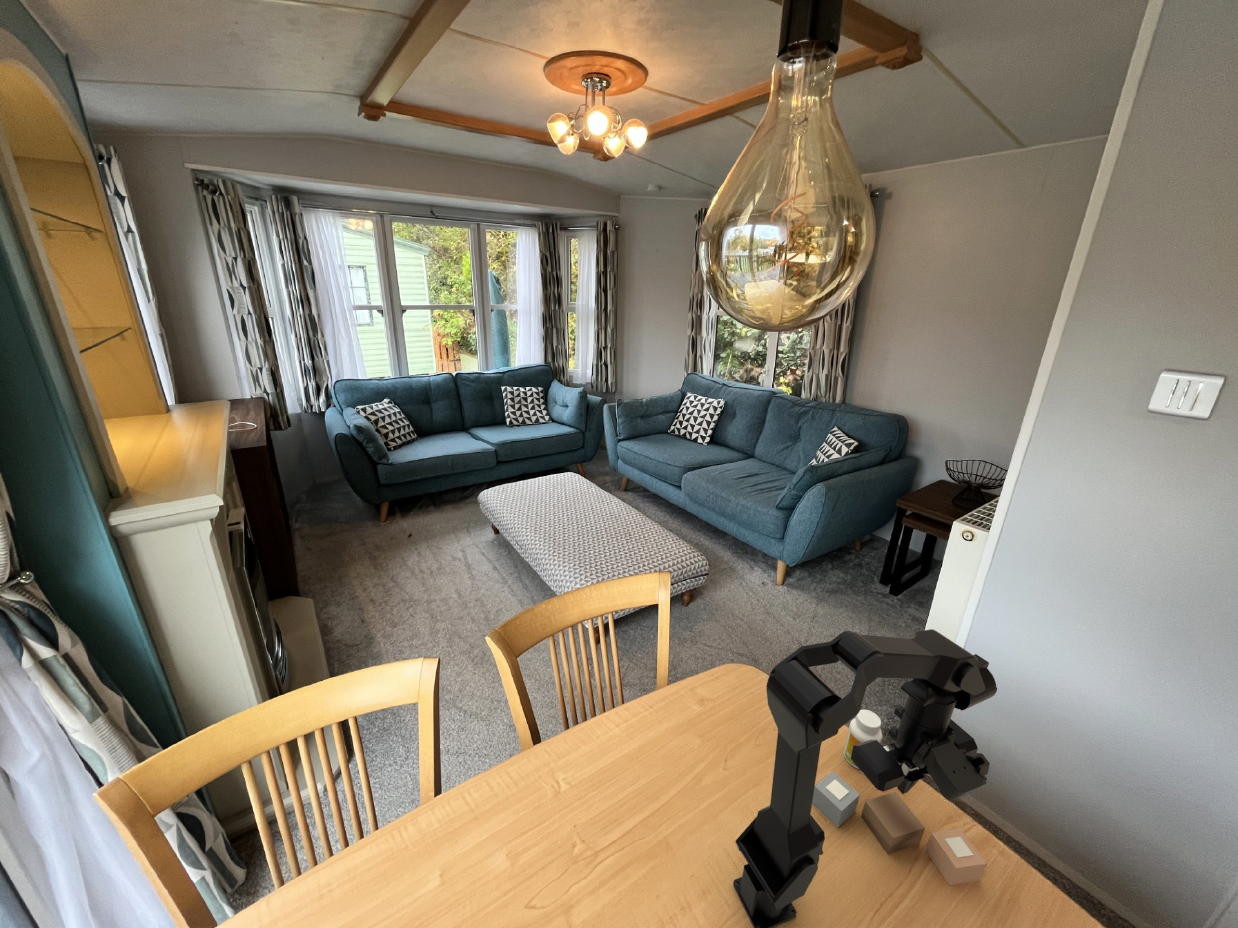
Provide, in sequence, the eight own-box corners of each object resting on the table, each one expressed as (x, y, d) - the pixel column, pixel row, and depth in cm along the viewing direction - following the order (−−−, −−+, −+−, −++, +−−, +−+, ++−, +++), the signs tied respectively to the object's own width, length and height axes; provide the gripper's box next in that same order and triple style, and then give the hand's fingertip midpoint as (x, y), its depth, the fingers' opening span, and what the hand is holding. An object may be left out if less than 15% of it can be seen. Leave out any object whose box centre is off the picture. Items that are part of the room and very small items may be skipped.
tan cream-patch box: (949, 885, 74) (956, 866, 73) (925, 849, 79) (931, 831, 77) (979, 881, 75) (987, 862, 73) (954, 845, 80) (961, 827, 78)
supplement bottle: (878, 774, 91) (889, 733, 87) (846, 768, 92) (856, 727, 88) (870, 748, 96) (881, 708, 92) (840, 743, 97) (849, 703, 93)
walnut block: (887, 855, 78) (893, 837, 77) (860, 817, 83) (865, 800, 82) (919, 844, 80) (925, 827, 78) (890, 808, 85) (895, 791, 84)
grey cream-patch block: (837, 828, 82) (841, 809, 80) (810, 802, 85) (814, 784, 84) (855, 811, 84) (860, 793, 83) (828, 787, 88) (833, 769, 87)
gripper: (925, 782, 63) (897, 865, 68) (1028, 742, 69) (996, 821, 74) (858, 713, 73) (839, 790, 78) (954, 683, 79) (929, 757, 84)
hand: (902, 790), depth 78 cm, fingers closed
